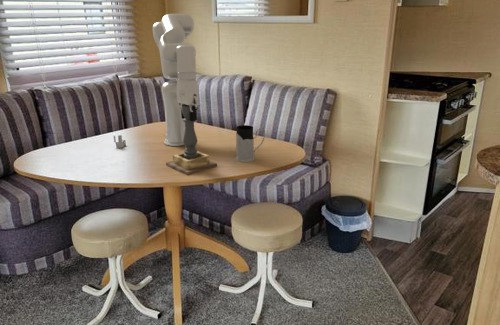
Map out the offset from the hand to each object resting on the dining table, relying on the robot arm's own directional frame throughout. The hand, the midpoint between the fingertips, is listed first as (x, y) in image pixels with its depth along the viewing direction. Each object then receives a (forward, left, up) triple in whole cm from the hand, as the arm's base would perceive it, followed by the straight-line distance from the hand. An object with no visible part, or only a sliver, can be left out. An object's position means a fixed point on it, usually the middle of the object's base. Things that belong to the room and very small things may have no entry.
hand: (189, 119), depth 176 cm
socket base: (0, 0, -21) cm, 21 cm away
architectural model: (-52, -13, -22) cm, 58 cm away
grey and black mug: (+10, +26, -21) cm, 35 cm away
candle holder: (0, 0, -19) cm, 19 cm away
